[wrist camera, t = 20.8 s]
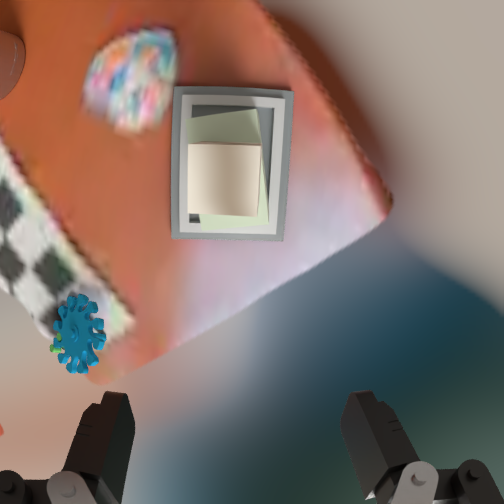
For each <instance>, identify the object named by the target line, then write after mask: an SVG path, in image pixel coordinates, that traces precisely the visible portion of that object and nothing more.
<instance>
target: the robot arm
mask: <svg viewBox="0 0 504 504" xmlns="http://www.w3.org/2000/svg"><path fill="white" fill-rule="evenodd" d="M24 61H25V48H24V45H23V42H22V40H21V39H20V38H19V37H18V36H16V35H13V34H11V33H8V32H5V31H2V30H0V100H1V99H2V98H4V97H5V96H6V95H7V94H8V93H9V92H10V91H11V90H12V89H13V87H14V86H15V84H16V83H17V81H18V79H19V77H20V75H21V72H22V69H23V66H24ZM340 428H341V433H342V436H343V438H344V441H345V444H346V447H347V449H348V452H349V455H350V458H351V461H352V463H353V466H354V469H355V472H356V475H357V478H358V480H359V483H360V486H361V489H362V492H363V495H364V497H365V499H369V498H373V497H376V500H377V504H504V500H503V498H502V496H501V494H500V492H499V490H498V488H497V486H496V484H495V482H494V480H493V478H492V476H491V474H490V472H489V470H488V469H487V467H486V466H485V465H484V464H483V463H482V462H480V461H478V460H474V459H471V460H467V461H465V462H463V463H462V464H461V465H460V466H459V468H458V469H443V470H442V469H441V470H439V469H435V468H434V467H433V466H432V465H430V464H428V463H426V462H422V461H420V459H419V458H418V456H417V454H416V452H415V450H414V448H413V446H412V444H411V442H410V440H409V438H408V437H407V435H406V433H405V431H404V430H403V427H402V425H401V423H400V422H399V421H398V418H397V416H396V414H395V412H394V410H393V409H392V408H391V407H390V406H389V405H387V404H386V403H385V402H384V401H381V402H378V401H377V399H376V398H375V396H374V394H373V392H372V391H370V390H365V391H358V392H351V393H350V394H349V397H348V400H347V403H346V405H345V408H344V411H343V414H342V417H341V421H340ZM134 435H135V420H134V417H133V413H132V410H131V406H130V403H129V399H128V396H127V394H126V393H118V392H110V391H106V392H105V393H104V395H103V398H102V401H101V404H95V403H92V404H91V405H90V406H89V407H88V408H87V409H86V410H85V411H84V412H83V415H82V417H81V420H80V423H79V426H78V428H77V431H76V435H75V436H74V439H73V442H72V444H71V447H70V450H69V453H68V456H67V459H66V462H65V465H64V467H63V469H62V470H61V472H58V473H55V474H54V475H53V476H51V478H50V479H46V480H23V478H22V477H21V476H20V475H19V474H18V473H16V472H14V471H11V470H4V471H1V472H0V504H121V502H122V495H123V490H124V485H125V479H126V474H127V469H128V463H129V459H130V454H131V450H132V445H133V440H134Z"/></svg>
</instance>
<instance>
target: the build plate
mask: <svg viewBox="0 0 504 504" xmlns="http://www.w3.org/2000/svg"><path fill="white" fill-rule="evenodd" d="M293 102H294V91H285V90H274V89H261V88H245V87H218V86H178V87H174V95H173V115H172V144H171V233H172V239H207V240H252V241H283V239H284V228H285V216H286V204H287V191H288V178H289V164H290V150H291V135H292V119H293ZM252 109H256V110H257V111H258V114H259V123H260V131H261V140H262V149H263V158H264V167H265V176H266V185H267V195H268V204H269V224H268V225H257V226H246V227H236V228H226V229H215V230H206V231H202V230H201V224H200V217H199V214H192V213H188V137H187V130H186V122H185V119H189V118H195V117H201V116H207V115H214V114H221V113H228V112H235V111H243V110H252Z"/></svg>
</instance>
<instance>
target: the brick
mask: <svg viewBox="0 0 504 504" xmlns="http://www.w3.org/2000/svg"><path fill="white" fill-rule="evenodd" d="M185 122H186V130H187V137H188V144H191V143H196V142H201V141H219V142H249V143H262V140H261V131H260V123H259V114H258V111H257V110H256V109H252V110H243V111H235V112H228V113H221V114H214V115H207V116H201V117H195V118H189V119H185ZM199 217H200V224H201V230H202V231H206V230H215V229H226V228H236V227H246V226H257V225H268V224H269V204H268V195H267V185H266V176H265V167H264V158H263V149H262V159H261V178H260V197H259V206H258V213H257V217H250V216H232V215H213V214H199Z"/></svg>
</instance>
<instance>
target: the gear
mask: <svg viewBox="0 0 504 504" xmlns="http://www.w3.org/2000/svg"><path fill="white" fill-rule="evenodd" d="M88 300H89V299H88V297H87V296H85V295H82V294H79V295H78V298H76V297H72V296H70V297H68V298H67V304H68V307H67V306H63V305H62V306H60V308H59V309H58V313H59V314H60V316H61V318H62V322H61V321H57V320H55V322H54V326H53V328H54V330H57V331H58V332H59V333H58V334H57V338H54V345H53V344H51V345H50V351H51V352H57V353H59V354H58V360H59V362H60V363H64V364H66V363H67V361H68V359H69V357H70V356H71V362H70V363H68V364H67V365H66V369H67V370H68V371H69V372H70V373H76V372H78V373H88V367H87V364H88V365H89V366H95V365H96V364H98V362H99V359H98V357H97V356H96V355H95V353H94V351H93V348H92V343H93V347H94V349H97V350H102V348H103V346H104V343H105V341H106V335H105V334H100V333H93V327H94V328H95V329H98V330H103V328H104V320H103V319H100V318H95V319H94V320H92V321H90V319H89V315H90V313H97V312H98V306H97V304H96V302H92V301H90V302H89V303H88ZM87 303H88V305H87V307H86V308H85V310H83V311H82V308H83V306H84V305H86V304H87ZM75 306H76V307H75ZM74 308H75V309H74ZM61 348H62V349H63V350H65V353H64V354H62V353H60V352H61ZM86 359H87V362H86ZM79 360H80V362H79V364H78V366H77V363H78V361H79Z"/></svg>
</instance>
